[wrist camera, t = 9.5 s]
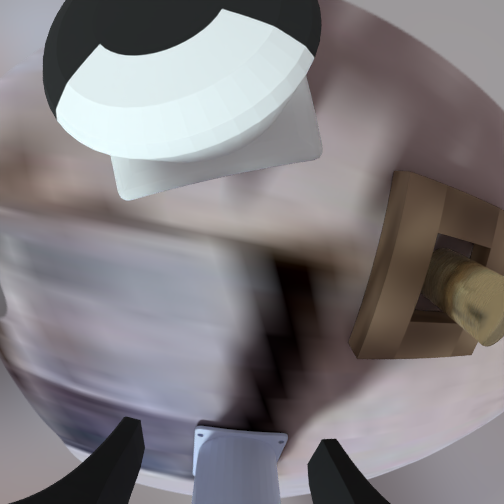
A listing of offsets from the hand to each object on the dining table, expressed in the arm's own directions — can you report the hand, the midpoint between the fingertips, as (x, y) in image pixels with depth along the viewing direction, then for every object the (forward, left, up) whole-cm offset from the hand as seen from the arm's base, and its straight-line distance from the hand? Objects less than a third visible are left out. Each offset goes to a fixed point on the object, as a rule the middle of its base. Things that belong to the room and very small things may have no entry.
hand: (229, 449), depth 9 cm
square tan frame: (+6, -14, -9) cm, 18 cm away
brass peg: (+6, -14, -9) cm, 18 cm away
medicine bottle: (+13, +3, -10) cm, 16 cm away
